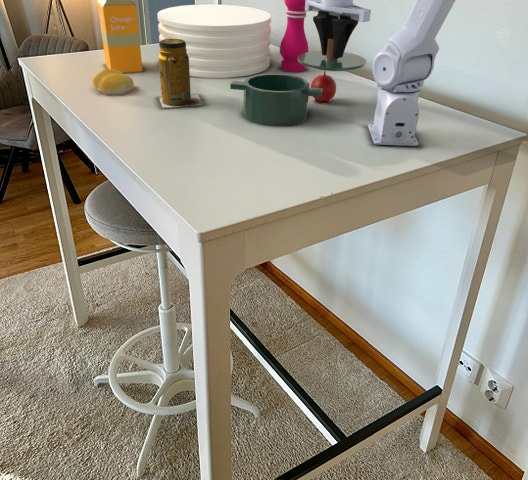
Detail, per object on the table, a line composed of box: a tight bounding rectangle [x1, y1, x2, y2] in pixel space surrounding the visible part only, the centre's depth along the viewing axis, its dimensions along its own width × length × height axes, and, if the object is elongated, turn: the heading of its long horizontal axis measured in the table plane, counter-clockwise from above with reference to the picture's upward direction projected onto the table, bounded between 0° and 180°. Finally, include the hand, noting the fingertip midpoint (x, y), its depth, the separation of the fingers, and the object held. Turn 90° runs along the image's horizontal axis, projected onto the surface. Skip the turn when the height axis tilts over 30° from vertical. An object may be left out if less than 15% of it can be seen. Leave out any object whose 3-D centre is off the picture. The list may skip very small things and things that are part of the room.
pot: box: [229, 73, 323, 127], centre depth 108 cm, size 13×18×6 cm
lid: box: [298, 37, 367, 72], centre depth 108 cm, size 14×14×5 cm
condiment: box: [158, 39, 204, 108], centre depth 112 cm, size 7×8×12 cm
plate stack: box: [157, 3, 272, 79], centre depth 138 cm, size 28×28×12 cm
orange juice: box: [96, 0, 144, 74], centre depth 130 cm, size 8×9×20 cm
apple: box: [309, 70, 337, 105], centre depth 116 cm, size 6×6×6 cm
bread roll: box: [92, 68, 134, 96], centre depth 120 cm, size 8×9×4 cm
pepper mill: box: [279, 0, 309, 73], centre depth 133 cm, size 7×7×20 cm
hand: (332, 56), depth 108 cm, fingers closed on lid, 2 cm apart
